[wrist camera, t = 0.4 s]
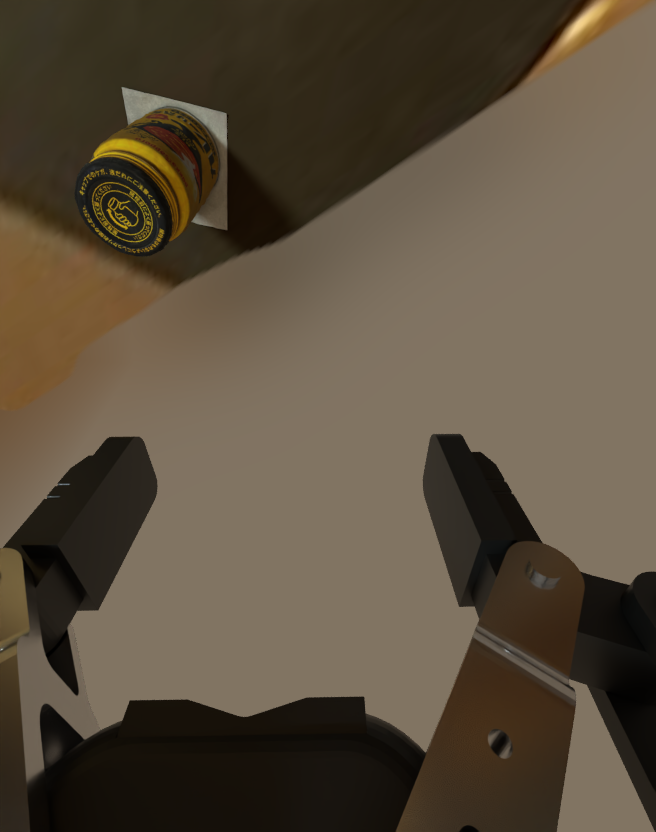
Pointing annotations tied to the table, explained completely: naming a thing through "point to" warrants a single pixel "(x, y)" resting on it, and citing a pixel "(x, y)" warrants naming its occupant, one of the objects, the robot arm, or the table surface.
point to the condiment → (156, 175)
